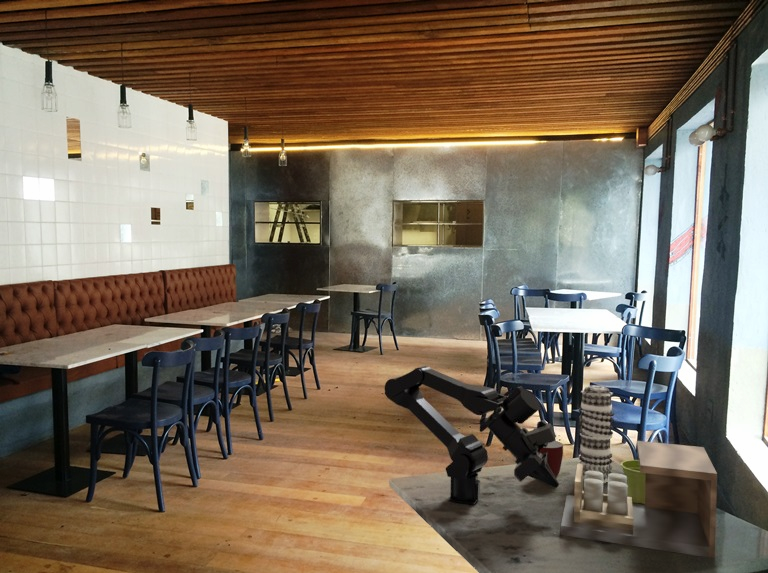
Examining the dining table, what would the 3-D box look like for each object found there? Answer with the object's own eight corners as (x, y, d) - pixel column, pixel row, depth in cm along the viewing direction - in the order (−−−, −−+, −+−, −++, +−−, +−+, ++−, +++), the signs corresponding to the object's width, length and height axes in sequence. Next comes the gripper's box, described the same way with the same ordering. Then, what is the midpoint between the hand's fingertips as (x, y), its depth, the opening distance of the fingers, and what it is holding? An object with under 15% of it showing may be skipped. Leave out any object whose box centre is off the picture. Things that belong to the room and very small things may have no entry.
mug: (562, 490, 159) (563, 452, 159) (530, 486, 162) (530, 449, 161) (562, 476, 170) (563, 440, 169) (532, 473, 172) (532, 438, 171)
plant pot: (641, 510, 147) (642, 474, 146) (611, 496, 155) (612, 462, 155) (670, 504, 151) (670, 469, 150) (639, 491, 159) (640, 457, 159)
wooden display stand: (560, 534, 133) (562, 456, 132) (566, 503, 151) (568, 434, 150) (714, 558, 123) (717, 473, 122) (701, 521, 141) (703, 447, 140)
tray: (573, 521, 135) (574, 481, 135) (577, 500, 147) (577, 463, 147) (633, 530, 131) (634, 488, 131) (631, 507, 143) (632, 469, 143)
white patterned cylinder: (572, 479, 168) (574, 387, 167) (583, 470, 175) (584, 382, 175) (607, 486, 163) (609, 391, 162) (616, 476, 170) (618, 386, 169)
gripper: (530, 421, 135) (582, 478, 131) (539, 403, 152) (585, 453, 149) (493, 453, 138) (543, 509, 134) (506, 432, 155) (551, 481, 152)
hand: (557, 486), depth 142 cm, fingers closed
